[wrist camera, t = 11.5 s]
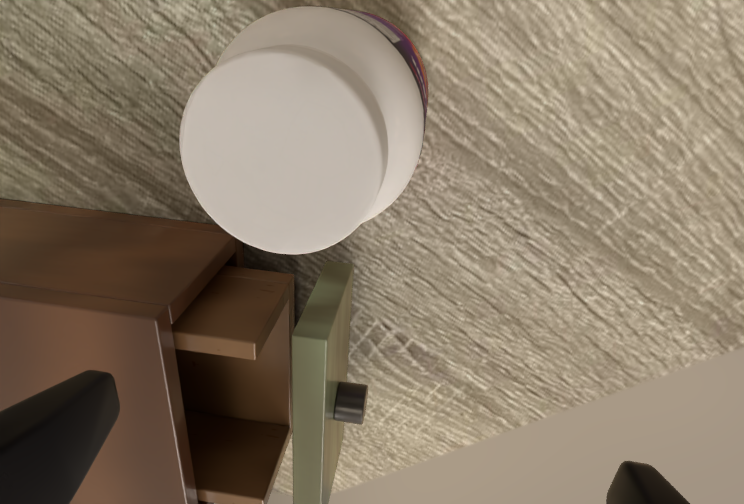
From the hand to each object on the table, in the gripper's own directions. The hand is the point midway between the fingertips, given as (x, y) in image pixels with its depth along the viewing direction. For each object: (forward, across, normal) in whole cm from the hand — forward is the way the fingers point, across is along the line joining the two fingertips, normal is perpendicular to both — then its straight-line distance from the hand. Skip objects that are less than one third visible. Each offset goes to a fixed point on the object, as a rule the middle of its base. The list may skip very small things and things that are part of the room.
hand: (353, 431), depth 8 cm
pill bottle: (+12, +2, -4) cm, 13 cm away
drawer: (+11, +7, +8) cm, 16 cm away
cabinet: (+12, +13, +8) cm, 20 cm away
